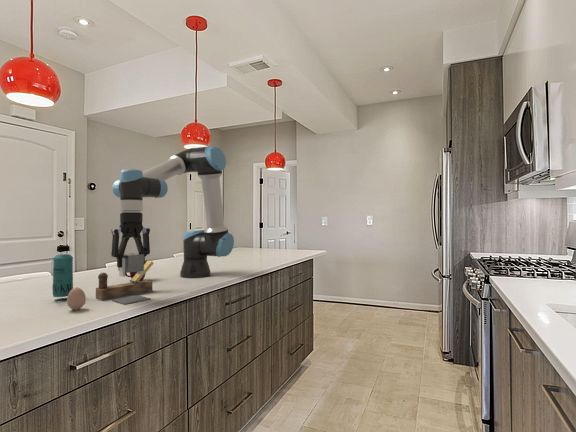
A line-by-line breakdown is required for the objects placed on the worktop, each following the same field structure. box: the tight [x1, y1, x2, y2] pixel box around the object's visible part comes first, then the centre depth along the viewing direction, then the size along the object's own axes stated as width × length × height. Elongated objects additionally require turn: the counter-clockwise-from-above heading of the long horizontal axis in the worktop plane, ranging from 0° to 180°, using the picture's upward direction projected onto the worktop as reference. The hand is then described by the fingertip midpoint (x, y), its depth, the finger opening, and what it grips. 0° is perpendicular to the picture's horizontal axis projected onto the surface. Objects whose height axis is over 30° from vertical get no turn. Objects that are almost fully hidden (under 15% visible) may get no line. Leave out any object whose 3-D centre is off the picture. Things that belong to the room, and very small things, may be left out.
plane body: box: [95, 272, 153, 301], centre depth 140 cm, size 20×5×10 cm, turn 141°
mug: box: [125, 258, 148, 282], centre depth 168 cm, size 10×8×10 cm
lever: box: [129, 260, 154, 284], centre depth 145 cm, size 1×4×11 cm
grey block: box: [117, 252, 144, 274], centre depth 131 cm, size 7×6×6 cm
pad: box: [111, 294, 151, 306], centre depth 131 cm, size 10×9×1 cm
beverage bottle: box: [52, 244, 74, 298], centre depth 133 cm, size 6×7×20 cm
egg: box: [66, 287, 87, 311], centre depth 118 cm, size 5×5×7 cm
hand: (131, 275), depth 131 cm, fingers closed on grey block, 6 cm apart
